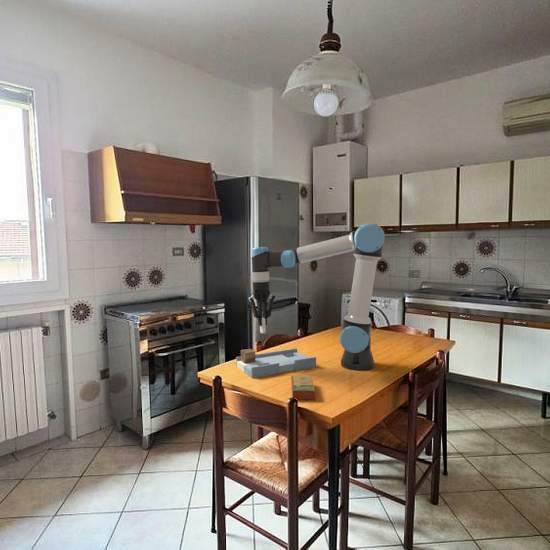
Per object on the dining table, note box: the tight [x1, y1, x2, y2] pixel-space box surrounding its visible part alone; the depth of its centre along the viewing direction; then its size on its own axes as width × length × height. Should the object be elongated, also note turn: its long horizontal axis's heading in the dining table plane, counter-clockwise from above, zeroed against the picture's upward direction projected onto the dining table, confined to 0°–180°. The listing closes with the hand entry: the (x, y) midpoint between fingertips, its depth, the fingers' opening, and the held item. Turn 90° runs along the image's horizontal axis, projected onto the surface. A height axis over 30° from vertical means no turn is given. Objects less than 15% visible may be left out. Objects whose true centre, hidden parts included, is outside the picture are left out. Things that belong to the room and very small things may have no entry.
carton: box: [290, 375, 316, 402], centre depth 151 cm, size 8×16×4 cm, turn 179°
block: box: [240, 348, 256, 364], centre depth 181 cm, size 5×5×5 cm
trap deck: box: [235, 347, 317, 379], centre depth 183 cm, size 18×32×4 cm, turn 118°
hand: (262, 332), depth 182 cm, fingers closed
